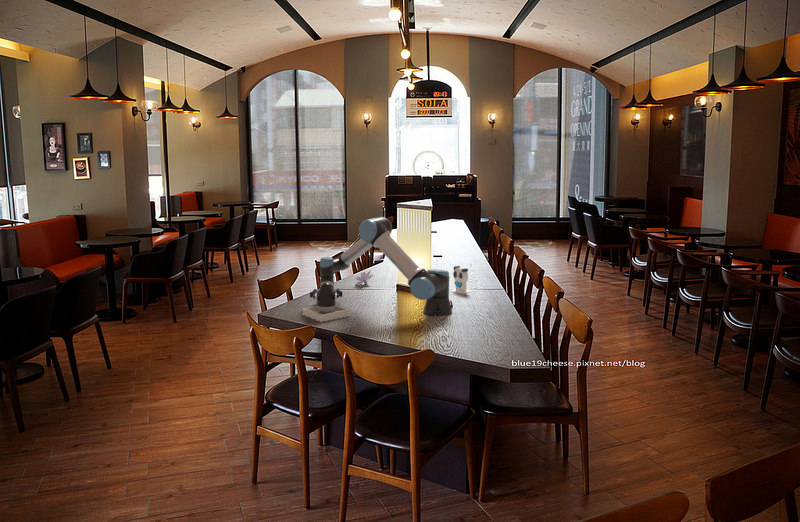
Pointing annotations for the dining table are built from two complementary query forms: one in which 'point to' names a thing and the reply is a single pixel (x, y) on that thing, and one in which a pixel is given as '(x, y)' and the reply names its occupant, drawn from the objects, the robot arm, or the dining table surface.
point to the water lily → (363, 278)
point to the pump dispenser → (326, 298)
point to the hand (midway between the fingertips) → (325, 298)
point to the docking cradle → (322, 316)
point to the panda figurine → (460, 279)
